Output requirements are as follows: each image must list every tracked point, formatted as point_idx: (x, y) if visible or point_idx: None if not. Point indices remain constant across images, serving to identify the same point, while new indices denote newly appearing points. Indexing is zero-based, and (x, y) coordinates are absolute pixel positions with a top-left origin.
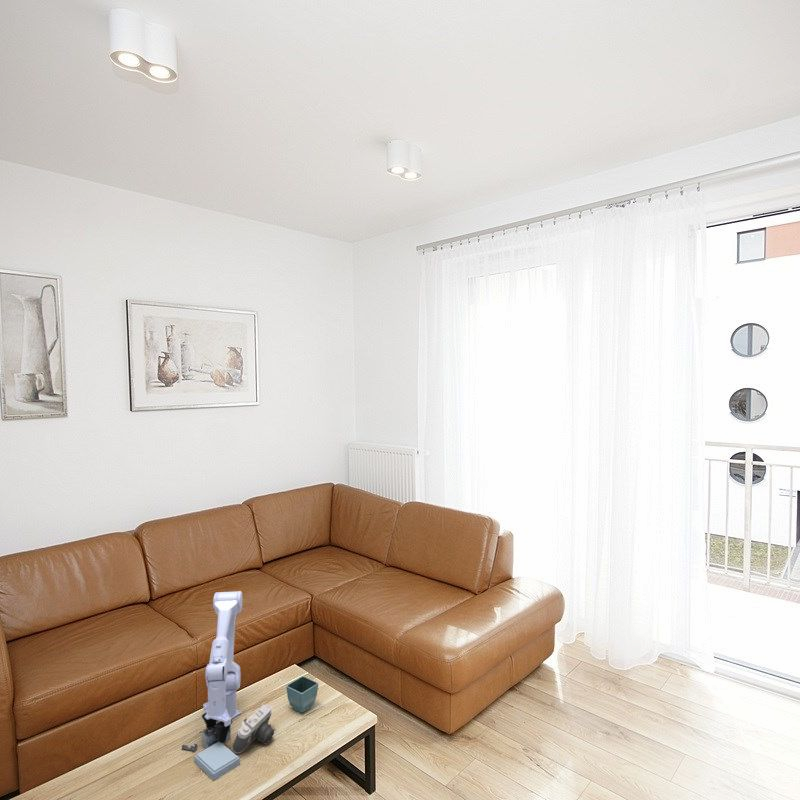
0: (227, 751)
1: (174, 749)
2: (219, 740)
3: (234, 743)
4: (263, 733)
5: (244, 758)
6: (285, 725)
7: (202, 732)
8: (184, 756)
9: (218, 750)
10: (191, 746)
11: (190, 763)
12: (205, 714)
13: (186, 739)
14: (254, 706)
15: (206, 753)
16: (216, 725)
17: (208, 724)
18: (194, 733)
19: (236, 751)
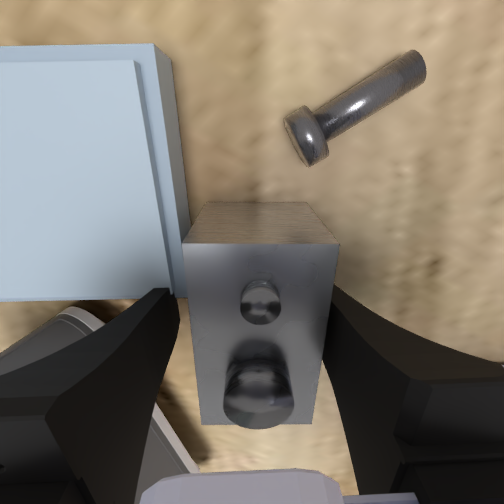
0: (8, 280)
1: (467, 4)
2: (142, 297)
3: (35, 350)
4: None
5: (3, 318)
6: None
7: (321, 242)
8: (303, 29)
9: (59, 240)
10: (334, 118)
11: (176, 22)
12: (486, 428)
13: (469, 155)
14: (347, 486)
15: (82, 146)
16: (11, 433)
17: (350, 336)
18: (465, 228)
19: (52, 318)
